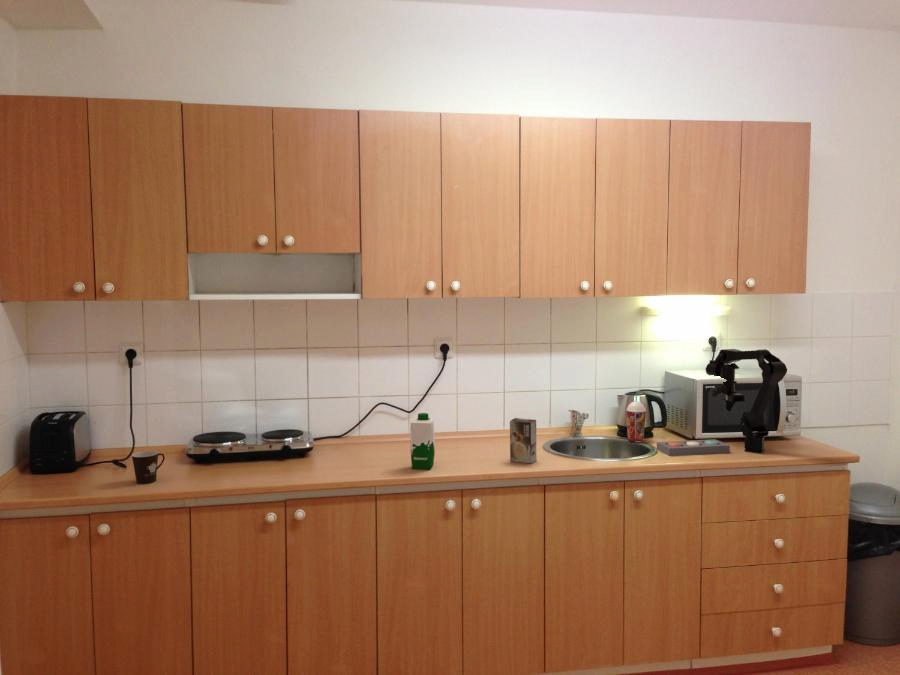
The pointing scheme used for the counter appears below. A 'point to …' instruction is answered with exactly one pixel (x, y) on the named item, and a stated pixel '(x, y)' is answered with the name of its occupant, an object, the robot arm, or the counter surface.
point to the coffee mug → (146, 466)
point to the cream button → (692, 443)
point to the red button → (674, 444)
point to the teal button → (711, 442)
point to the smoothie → (635, 420)
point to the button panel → (693, 448)
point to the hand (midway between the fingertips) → (726, 414)
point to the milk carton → (422, 442)
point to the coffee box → (523, 440)
